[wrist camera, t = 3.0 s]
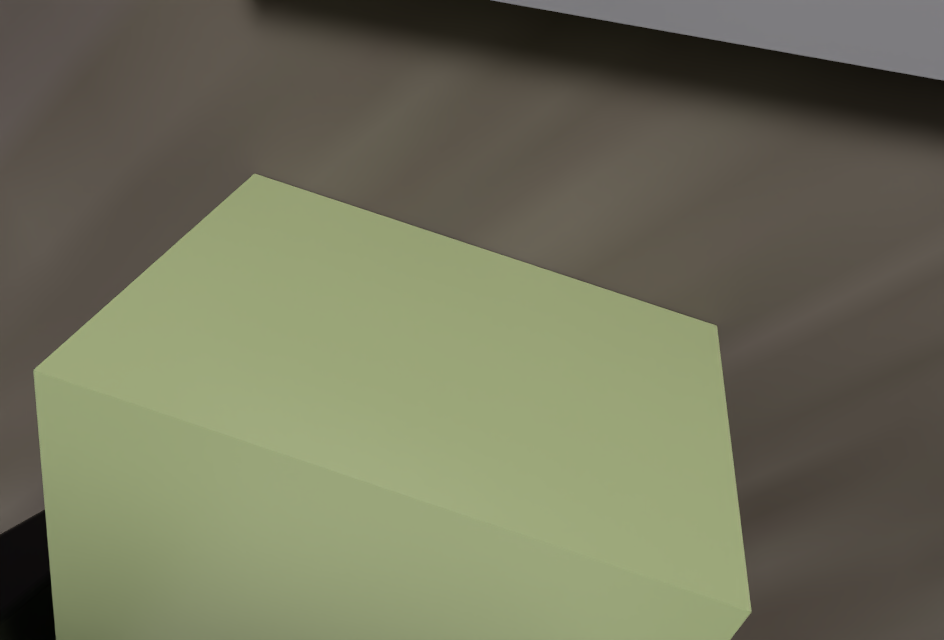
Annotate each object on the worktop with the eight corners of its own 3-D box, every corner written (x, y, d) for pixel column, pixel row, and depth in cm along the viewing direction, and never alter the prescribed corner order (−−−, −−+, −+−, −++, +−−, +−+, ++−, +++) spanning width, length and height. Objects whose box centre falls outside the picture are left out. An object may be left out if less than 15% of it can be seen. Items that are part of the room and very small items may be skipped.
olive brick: (521, 687, 12) (478, 964, 9) (211, 581, 12) (71, 823, 9) (717, 325, 8) (750, 612, 5) (254, 173, 8) (32, 371, 5)
